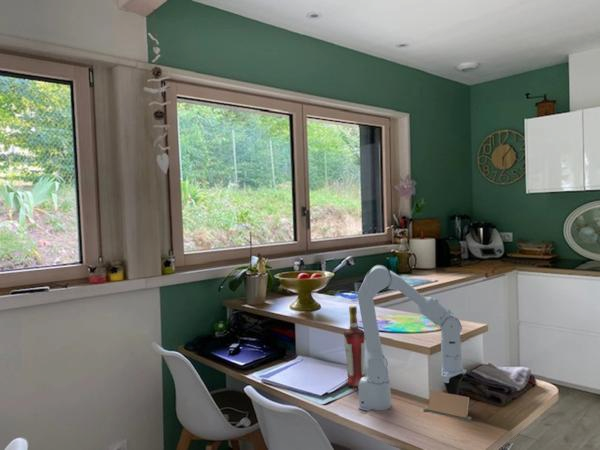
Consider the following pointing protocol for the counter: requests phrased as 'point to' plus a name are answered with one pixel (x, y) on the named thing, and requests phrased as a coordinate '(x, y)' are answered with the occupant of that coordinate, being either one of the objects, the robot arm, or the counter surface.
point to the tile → (448, 404)
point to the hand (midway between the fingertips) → (453, 398)
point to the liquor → (354, 350)
